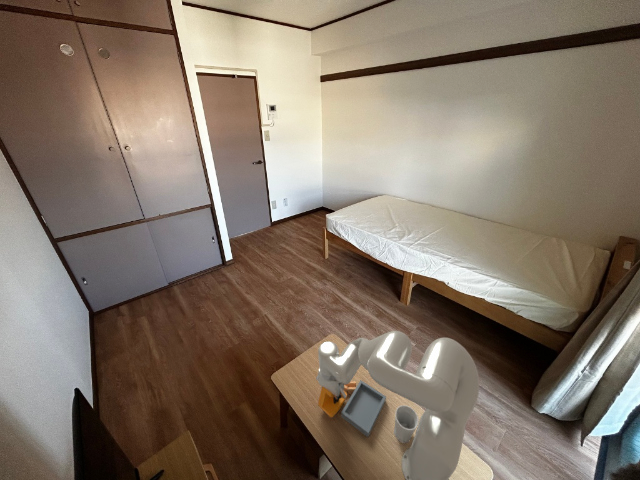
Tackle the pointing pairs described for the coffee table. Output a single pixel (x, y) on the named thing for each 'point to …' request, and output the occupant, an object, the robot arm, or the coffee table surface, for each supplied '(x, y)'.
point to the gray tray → (363, 407)
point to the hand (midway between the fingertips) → (331, 396)
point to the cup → (405, 423)
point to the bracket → (329, 402)
